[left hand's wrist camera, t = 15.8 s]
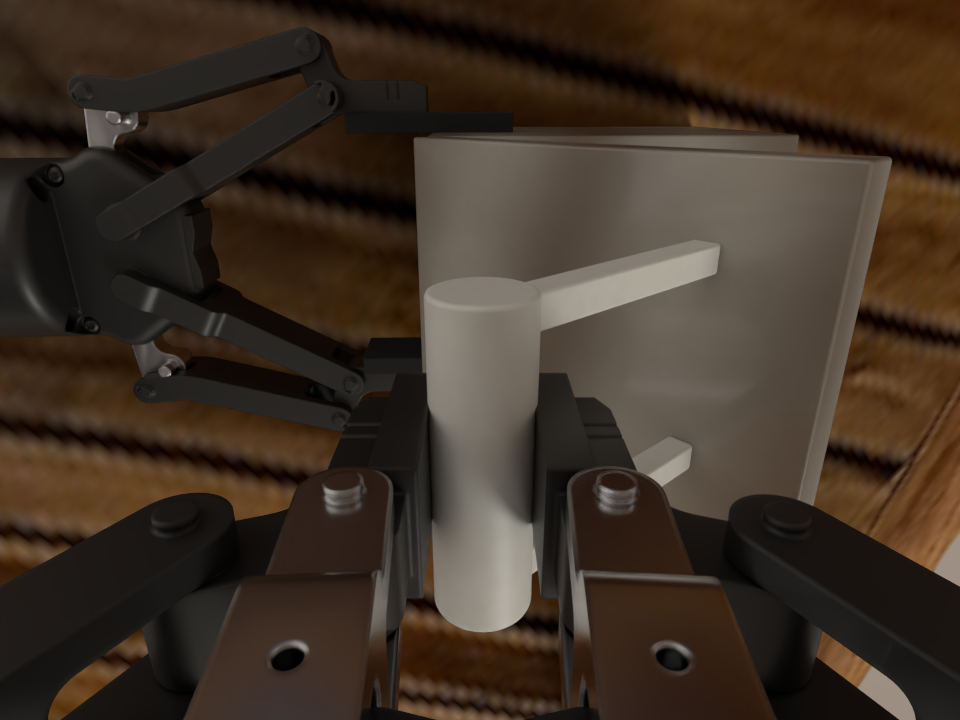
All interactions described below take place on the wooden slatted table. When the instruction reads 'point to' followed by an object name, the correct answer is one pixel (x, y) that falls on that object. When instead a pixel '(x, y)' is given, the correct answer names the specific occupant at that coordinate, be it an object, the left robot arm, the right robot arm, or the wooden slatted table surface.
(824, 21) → the wooden slatted table surface
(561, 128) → the chest
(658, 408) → the lid
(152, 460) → the wooden slatted table surface
